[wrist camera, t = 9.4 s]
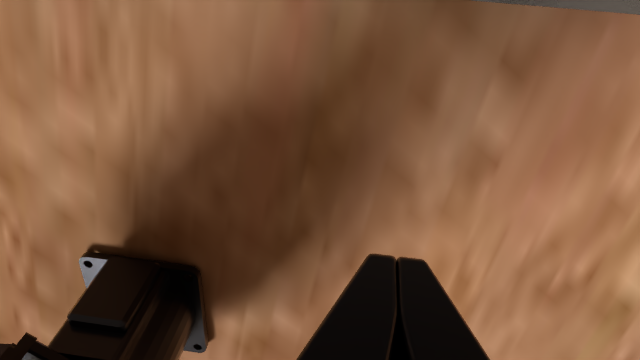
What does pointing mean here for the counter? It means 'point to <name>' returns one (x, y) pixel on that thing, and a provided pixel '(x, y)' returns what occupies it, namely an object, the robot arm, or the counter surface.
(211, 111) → the counter surface
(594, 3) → the console
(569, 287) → the counter surface
